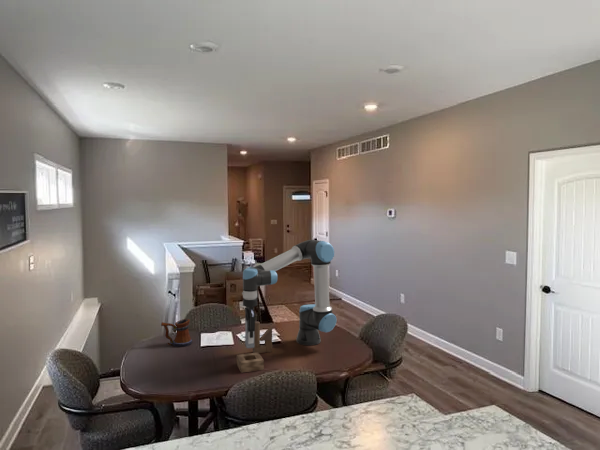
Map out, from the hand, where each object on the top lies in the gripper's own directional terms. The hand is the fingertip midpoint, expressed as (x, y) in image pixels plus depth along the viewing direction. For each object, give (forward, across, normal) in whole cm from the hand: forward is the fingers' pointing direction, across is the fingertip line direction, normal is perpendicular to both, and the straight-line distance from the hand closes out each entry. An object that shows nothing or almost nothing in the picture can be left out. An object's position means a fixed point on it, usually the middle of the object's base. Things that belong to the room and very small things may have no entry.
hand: (249, 341), depth 224 cm
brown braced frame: (+14, -19, +12) cm, 26 cm away
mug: (+14, -48, -34) cm, 60 cm away
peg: (+3, 0, 0) cm, 3 cm away
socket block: (+14, 0, 0) cm, 14 cm away
